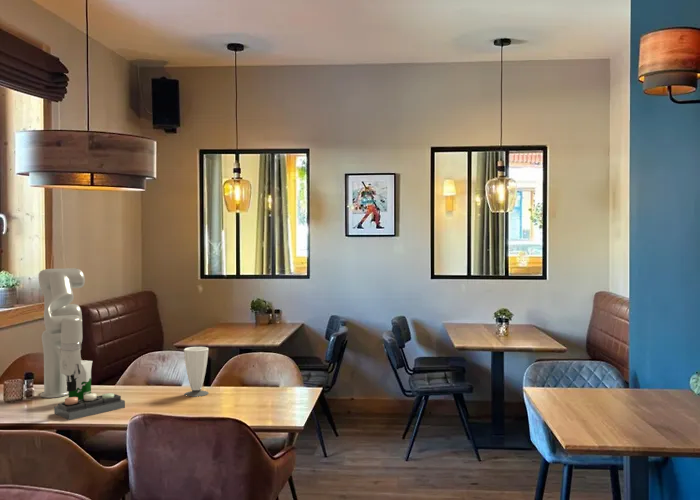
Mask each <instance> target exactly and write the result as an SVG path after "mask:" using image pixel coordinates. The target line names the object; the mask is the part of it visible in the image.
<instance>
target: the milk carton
mask: <svg viewBox="0 0 700 500" xmlns="http://www.w3.org/2000/svg"><path fill="white" fill-rule="evenodd" d="M92 366H93V360H85V359H84V360H82V359H81V373H80V374H79V378H77V381H76V391H71V392H69V394H68V397H67V398H69V397H78V400H81V399H84V395H85V394H90V393H92Z"/></svg>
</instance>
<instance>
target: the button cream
mask: <svg viewBox="0 0 700 500" xmlns="http://www.w3.org/2000/svg"><path fill="white" fill-rule="evenodd" d="M97 396H98V395H97V393H92V392H91V393H90V394H85V395H84V401H93V400H96V399H97Z"/></svg>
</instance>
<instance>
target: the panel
mask: <svg viewBox="0 0 700 500" xmlns="http://www.w3.org/2000/svg"><path fill="white" fill-rule="evenodd" d="M113 394H114V397H111V398H106V399H104V398H102V395H103V394H101V395H97V399H96V400H93V401H84V399H81V400H78V403H77V404H73V405H65V402H62V403H58V404H57V405H55V406H53V407H54V409H53V411H54V412H53V413H54V415H57V416H59V417H60V418H63V419H66V420H68V421H72V420H75V419H80V418H85V417H89V416H94V415H98V414H99V415H100V414H103V413H106V412H111V411H115V410H121V409H124V408H126V401H125V399H122V395H119V394H117V393H113Z"/></svg>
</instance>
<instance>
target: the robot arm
mask: <svg viewBox="0 0 700 500" xmlns="http://www.w3.org/2000/svg"><path fill="white" fill-rule="evenodd" d="M38 283H39V287H40V289H41V291H42V295H43V298H44V299H43V302H44V310H43V319H44V320H43V321H44V328H45V330H43V332H42V333H41V343H42V350H43V389H44V390H43V392H41V393H40V397H41V398H45V399H46V398H47V399H51V398H52V399H53V398H61V397H65V396H69V392H71V391H76V381H77V378H79V374H80V373H81V360H82V355H81V354H82V353H81V350H82V344H83V343H82V342H83V315H82V314H83V313H82V308H81V307H80V305H78V304H76V303H72V302H73V301H74V299H75V297H74V292H73V289H81V288H83V287H84V286H85V283H86V277H85V274H84V272H83V271H82V270H81V269H79V268H76V267H72V268H71V267H67V268H66V267H65V268H57V267H56V268H46V269H42V270H41V271H40V272H39V273H38Z"/></svg>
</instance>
